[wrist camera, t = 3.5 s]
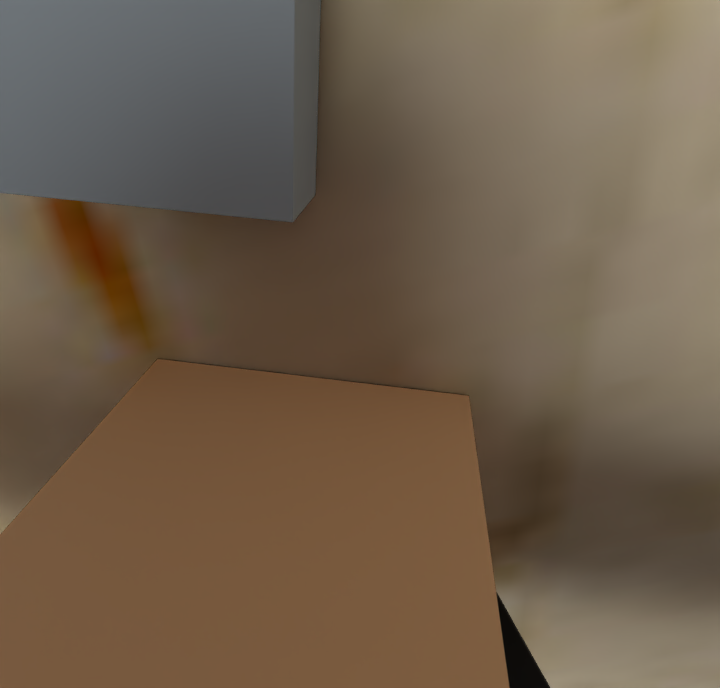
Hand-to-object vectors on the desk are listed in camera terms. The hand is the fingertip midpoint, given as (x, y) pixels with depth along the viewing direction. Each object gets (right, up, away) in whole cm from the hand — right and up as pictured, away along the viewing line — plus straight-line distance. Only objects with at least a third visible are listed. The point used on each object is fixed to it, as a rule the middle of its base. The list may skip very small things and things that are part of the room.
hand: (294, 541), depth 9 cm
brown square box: (0, +1, +1) cm, 1 cm away
